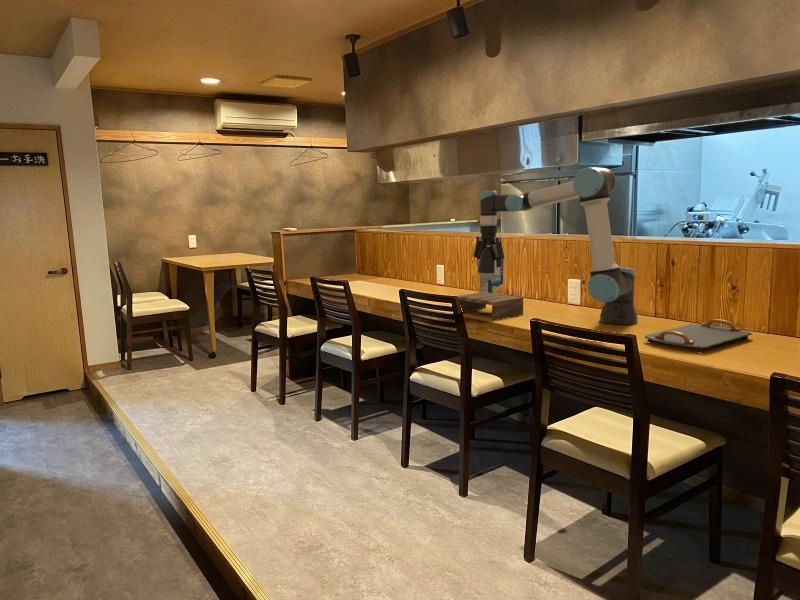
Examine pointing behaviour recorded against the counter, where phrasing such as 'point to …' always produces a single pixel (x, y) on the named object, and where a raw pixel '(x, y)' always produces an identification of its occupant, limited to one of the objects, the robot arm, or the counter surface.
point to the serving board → (699, 335)
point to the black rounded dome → (486, 264)
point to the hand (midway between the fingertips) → (488, 273)
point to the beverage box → (493, 283)
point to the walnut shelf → (493, 304)
